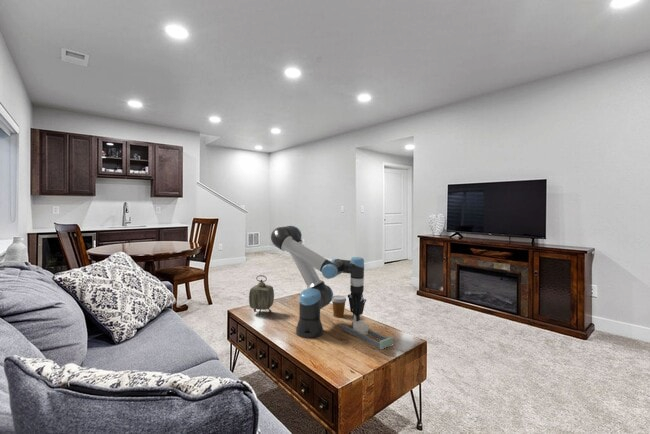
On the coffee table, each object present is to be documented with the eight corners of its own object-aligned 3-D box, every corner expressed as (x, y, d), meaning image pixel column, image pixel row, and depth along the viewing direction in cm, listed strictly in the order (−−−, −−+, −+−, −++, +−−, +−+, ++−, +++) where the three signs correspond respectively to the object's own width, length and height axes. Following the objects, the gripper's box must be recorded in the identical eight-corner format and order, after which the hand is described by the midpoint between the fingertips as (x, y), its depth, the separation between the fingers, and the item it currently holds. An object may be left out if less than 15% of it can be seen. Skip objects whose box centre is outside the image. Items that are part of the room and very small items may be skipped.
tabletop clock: (273, 311, 207) (274, 274, 206) (269, 316, 198) (269, 277, 197) (252, 310, 209) (253, 273, 208) (247, 315, 200) (247, 276, 199)
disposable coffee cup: (335, 312, 209) (336, 294, 209) (348, 314, 204) (348, 296, 204) (328, 316, 201) (328, 298, 200) (341, 319, 196) (342, 300, 196)
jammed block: (360, 336, 171) (360, 326, 171) (352, 333, 176) (353, 322, 176) (368, 334, 175) (368, 323, 175) (360, 330, 180) (360, 320, 179)
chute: (381, 349, 157) (382, 342, 157) (341, 329, 181) (342, 322, 181) (393, 345, 163) (393, 337, 162) (352, 325, 187) (353, 319, 186)
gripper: (370, 286, 174) (369, 327, 176) (353, 281, 184) (353, 320, 186) (360, 288, 170) (359, 331, 171) (344, 283, 180) (343, 323, 181)
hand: (356, 325), depth 178 cm, fingers closed
